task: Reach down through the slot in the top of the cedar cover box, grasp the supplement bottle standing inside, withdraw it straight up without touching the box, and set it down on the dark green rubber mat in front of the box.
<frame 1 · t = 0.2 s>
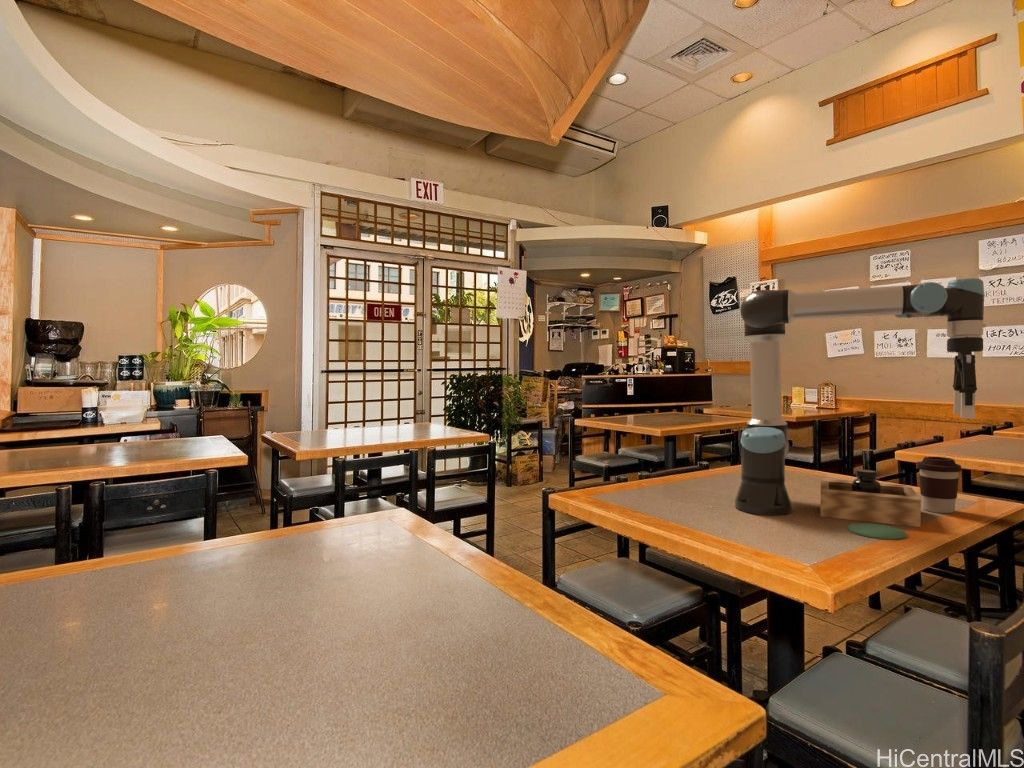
hand: (963, 416, 147), 28 cm above the table, fingers open, 13 cm apart
coffee cup: (938, 511, 156), on the table
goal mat: (876, 532, 137), on the table
supplement bottle: (866, 513, 154), resting in cover box
cover box: (866, 512, 154), on the table
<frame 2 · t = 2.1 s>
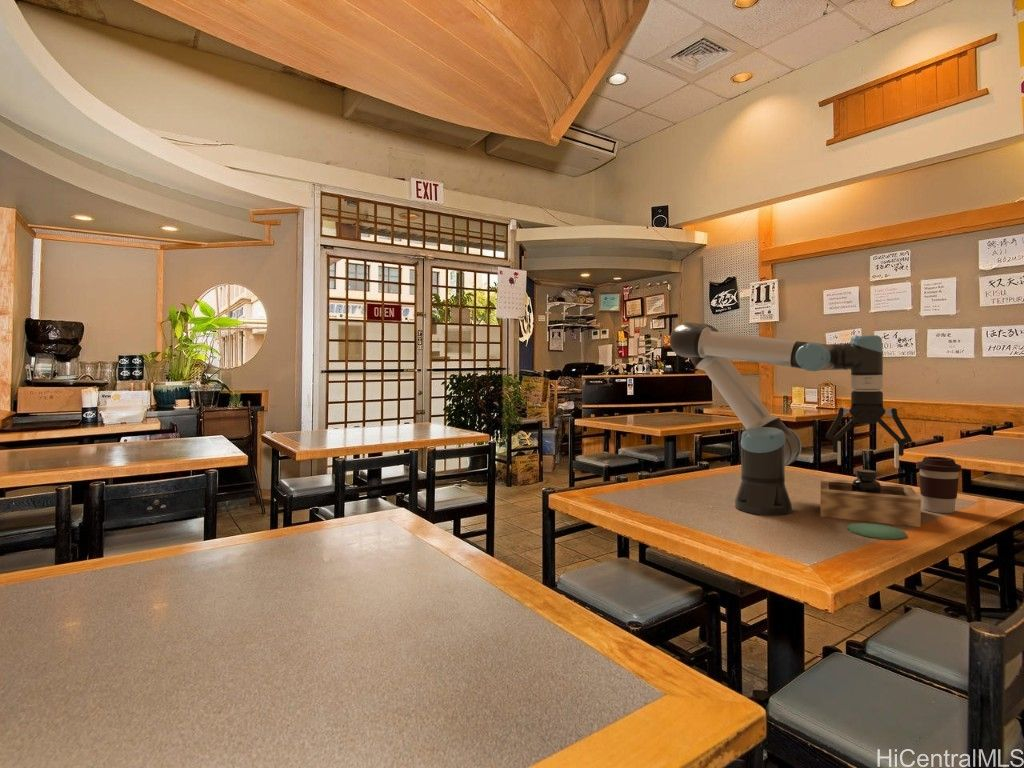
hand: (867, 465, 154), 13 cm above the table, fingers open, 13 cm apart
nothing on the table moved.
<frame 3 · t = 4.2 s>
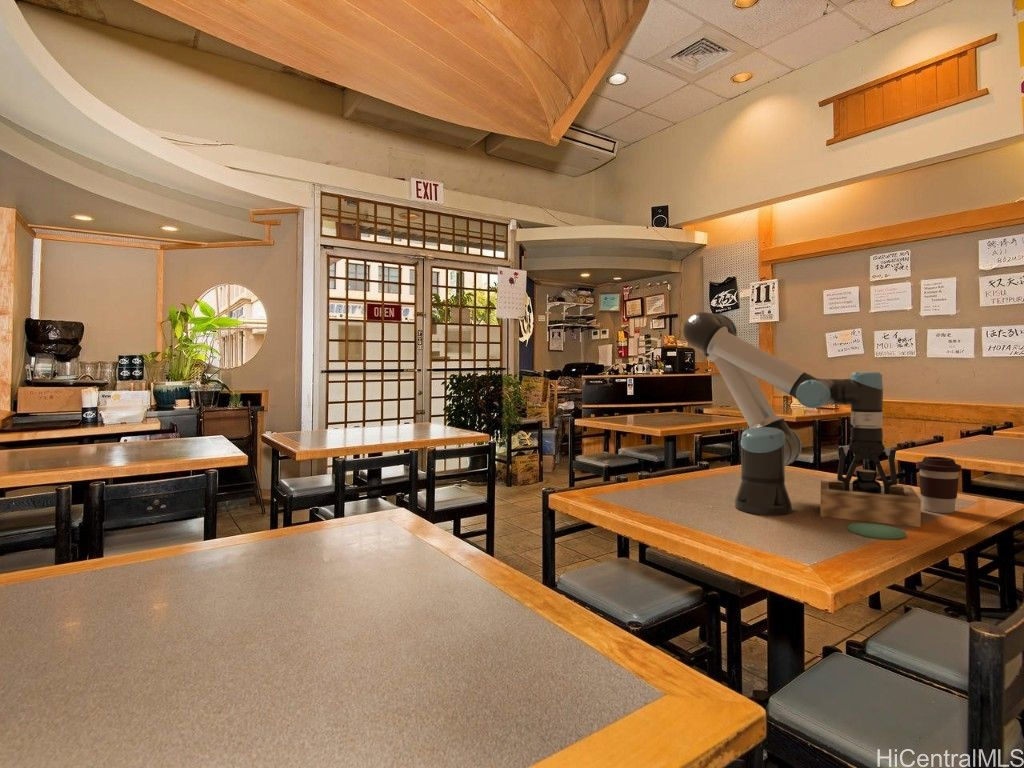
hand: (866, 507, 154), 2 cm above the table, fingers closed on supplement bottle, 7 cm apart
supplement bottle: (866, 513, 154), resting in cover box, touching gripper
everything else where it was.
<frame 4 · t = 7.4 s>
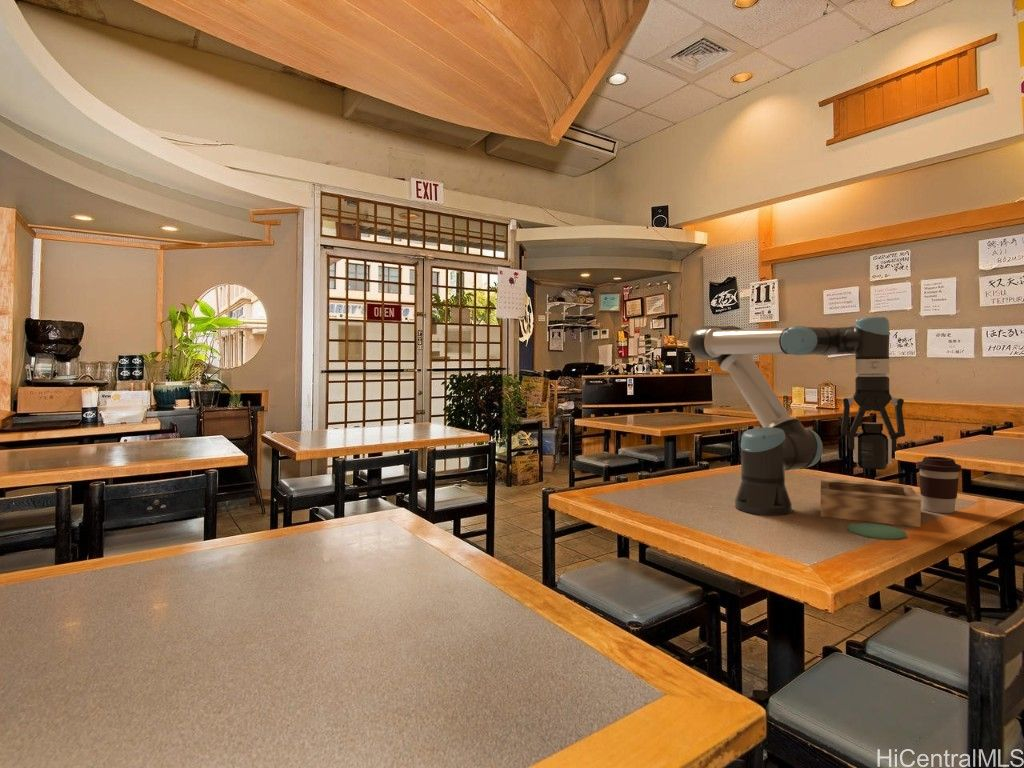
hand: (872, 462, 145), 16 cm above the table, fingers closed on supplement bottle, 7 cm apart
supplement bottle: (871, 468, 145), point 14 cm above the table, touching gripper
everything else where it was.
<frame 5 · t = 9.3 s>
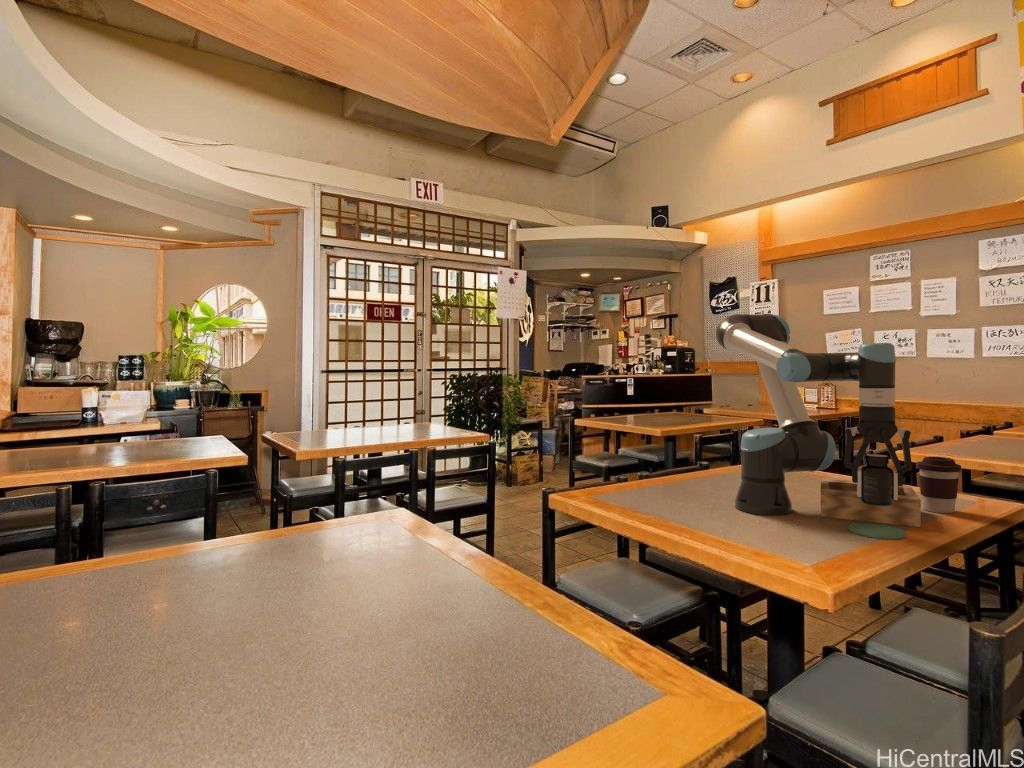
hand: (876, 497, 136), 9 cm above the table, fingers closed on supplement bottle, 7 cm apart
supplement bottle: (876, 504, 136), point 7 cm above the table, touching gripper
everything else where it was.
when the fingers open (4 cm above the table, at t = 10.6 s): supplement bottle drops 1 cm, resting on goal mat.
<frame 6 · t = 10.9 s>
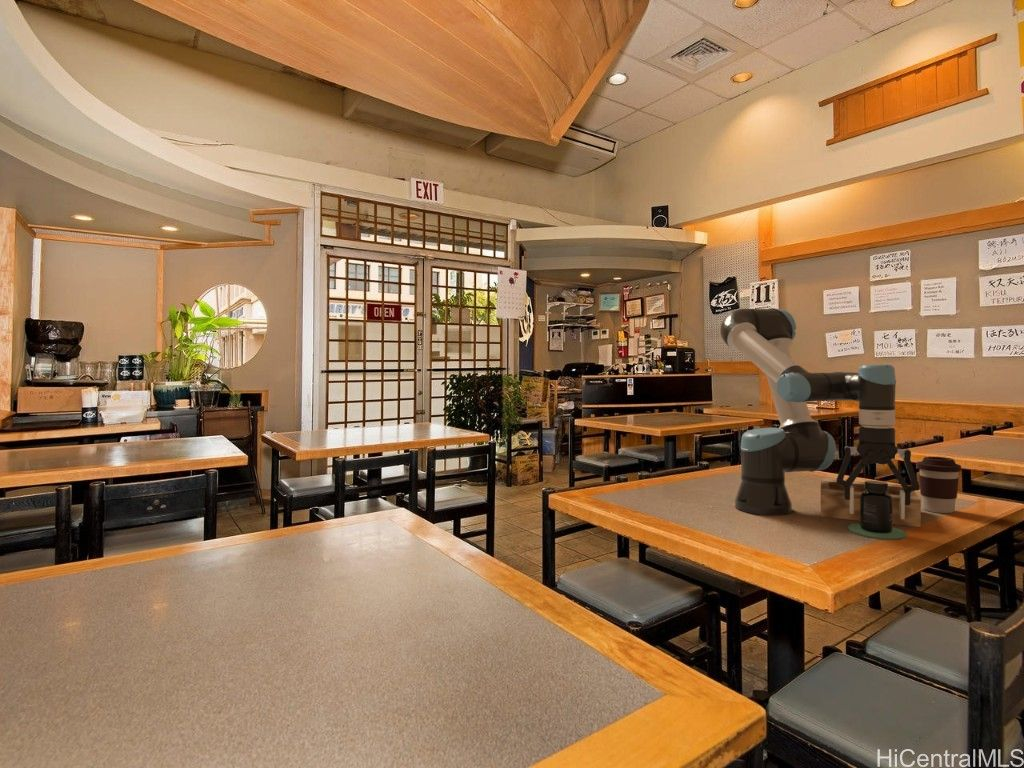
hand: (876, 515, 136), 4 cm above the table, fingers open, 10 cm apart
supplement bottle: (875, 530, 137), resting on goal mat
everything else where it was.
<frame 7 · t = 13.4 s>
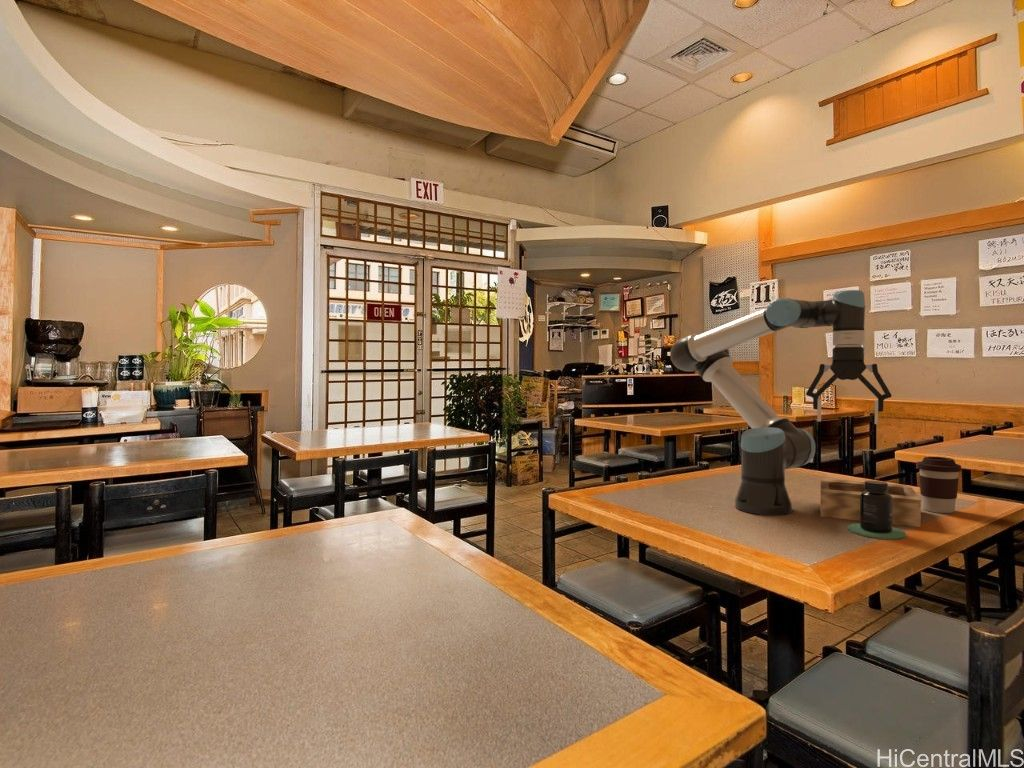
hand: (847, 422, 153), 26 cm above the table, fingers open, 13 cm apart
nothing on the table moved.
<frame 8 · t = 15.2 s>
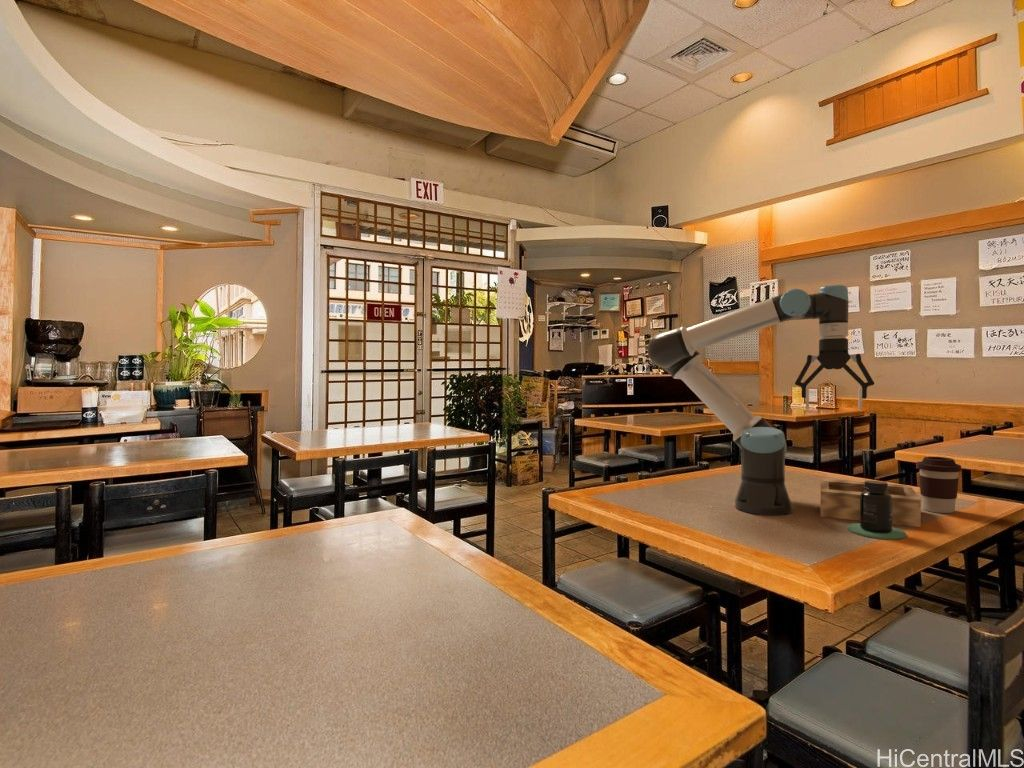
hand: (833, 409, 163), 29 cm above the table, fingers open, 13 cm apart
nothing on the table moved.
at the end: supplement bottle inside the target area on the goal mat (0.1 cm from its centre), point 0.4 cm above the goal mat's base; supplement bottle tilted 0°; the gripper is holding nothing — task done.
